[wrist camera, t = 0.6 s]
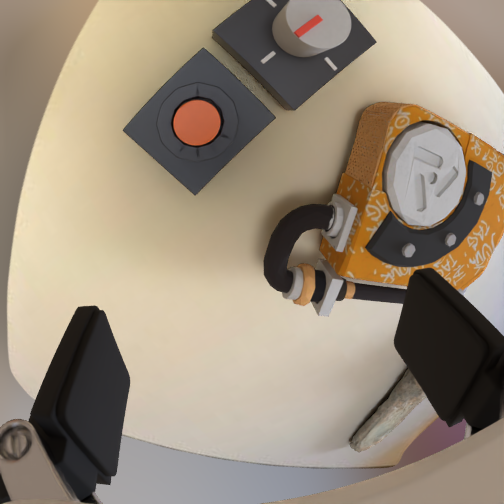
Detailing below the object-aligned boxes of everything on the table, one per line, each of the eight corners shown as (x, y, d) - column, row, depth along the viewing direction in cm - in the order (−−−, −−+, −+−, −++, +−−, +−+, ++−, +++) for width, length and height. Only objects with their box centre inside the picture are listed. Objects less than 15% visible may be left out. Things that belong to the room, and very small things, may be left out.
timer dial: (301, -3, 21) (320, -23, 16) (339, 37, 23) (365, 26, 18) (259, 27, 22) (271, 10, 17) (300, 68, 24) (320, 60, 19)
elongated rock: (334, 439, 57) (369, 435, 59) (341, 459, 52) (377, 453, 55) (440, 313, 42) (471, 318, 45) (459, 336, 37) (487, 337, 40)
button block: (203, 51, 25) (203, 43, 21) (271, 116, 28) (280, 118, 24) (128, 128, 27) (116, 131, 23) (195, 189, 30) (194, 201, 27)
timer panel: (296, -25, 22) (305, -36, 19) (363, 46, 26) (377, 42, 23) (212, 37, 24) (212, 29, 21) (286, 110, 28) (294, 110, 25)
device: (472, 332, 34) (260, 323, 28) (441, 299, 42) (248, 276, 35) (540, 174, 25) (336, 53, 19) (496, 157, 33) (303, 65, 26)
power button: (197, 91, 23) (196, 90, 22) (228, 121, 24) (230, 122, 23) (166, 123, 24) (163, 124, 22) (197, 151, 25) (196, 154, 24)
